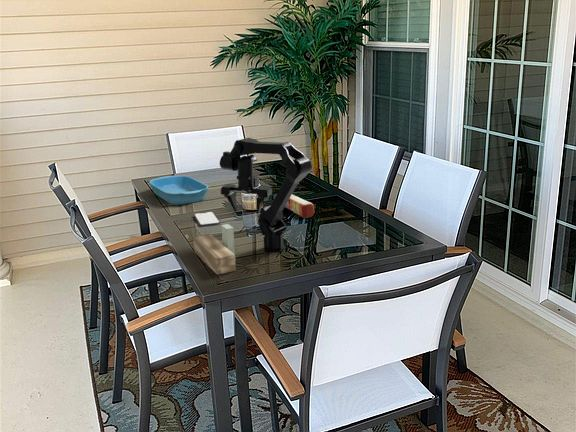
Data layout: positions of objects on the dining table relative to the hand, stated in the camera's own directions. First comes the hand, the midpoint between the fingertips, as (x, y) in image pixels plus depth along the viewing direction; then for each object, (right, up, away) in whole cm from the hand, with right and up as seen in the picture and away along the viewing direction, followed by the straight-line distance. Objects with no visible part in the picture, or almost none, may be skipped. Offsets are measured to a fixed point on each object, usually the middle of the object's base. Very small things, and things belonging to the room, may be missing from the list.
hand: (247, 212), depth 219 cm
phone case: (-20, -4, +31) cm, 37 cm away
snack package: (+20, 0, +40) cm, 45 cm away
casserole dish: (-38, +8, +67) cm, 78 cm away
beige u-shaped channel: (-11, -17, -14) cm, 25 cm away
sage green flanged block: (-8, -17, -13) cm, 22 cm away
